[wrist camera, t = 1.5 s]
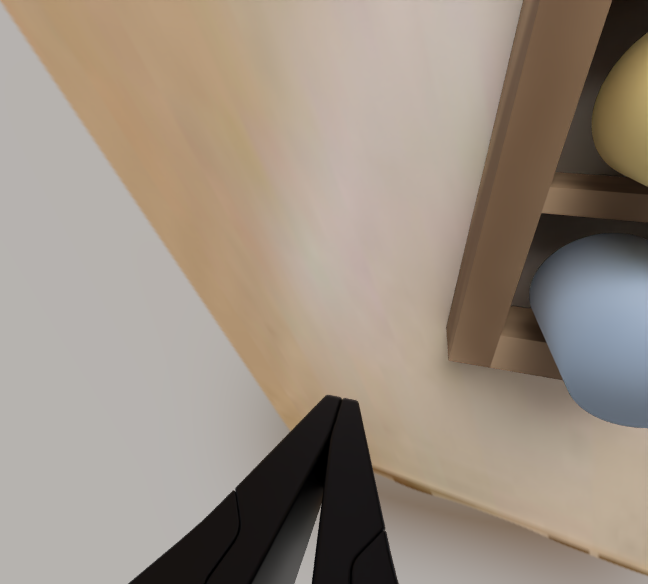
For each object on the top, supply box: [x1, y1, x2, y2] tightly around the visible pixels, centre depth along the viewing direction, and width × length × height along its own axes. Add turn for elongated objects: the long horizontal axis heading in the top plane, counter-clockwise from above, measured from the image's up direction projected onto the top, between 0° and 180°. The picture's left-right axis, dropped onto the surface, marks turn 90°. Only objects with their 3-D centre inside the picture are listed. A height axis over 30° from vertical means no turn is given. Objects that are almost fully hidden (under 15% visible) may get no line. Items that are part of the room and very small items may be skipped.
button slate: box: [529, 233, 648, 428], centre depth 13 cm, size 5×5×5 cm
